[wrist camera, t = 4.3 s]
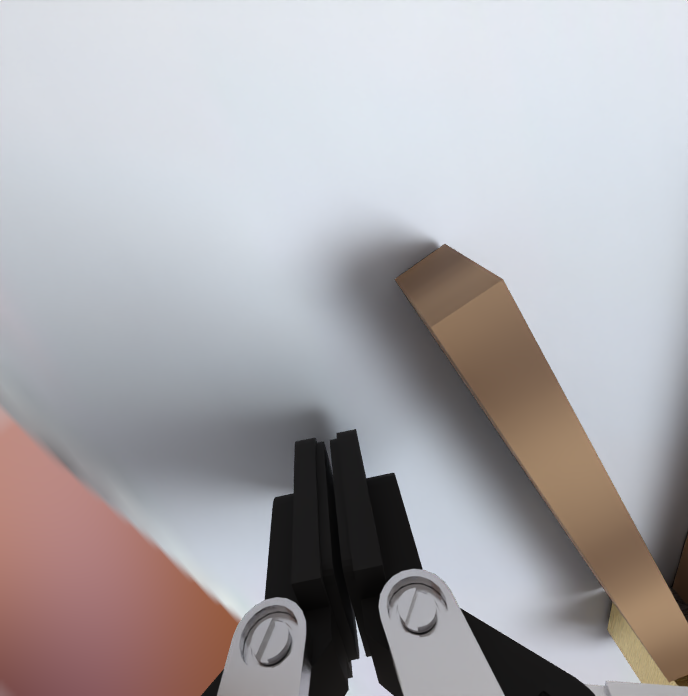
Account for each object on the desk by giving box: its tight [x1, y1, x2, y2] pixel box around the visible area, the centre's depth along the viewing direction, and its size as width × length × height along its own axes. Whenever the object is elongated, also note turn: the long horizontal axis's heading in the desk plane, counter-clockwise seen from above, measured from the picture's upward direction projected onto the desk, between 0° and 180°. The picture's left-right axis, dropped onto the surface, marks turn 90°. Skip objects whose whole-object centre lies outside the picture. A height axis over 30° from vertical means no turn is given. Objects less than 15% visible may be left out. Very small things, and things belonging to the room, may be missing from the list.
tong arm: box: [394, 244, 688, 682], centre depth 11 cm, size 16×1×3 cm, turn 36°
